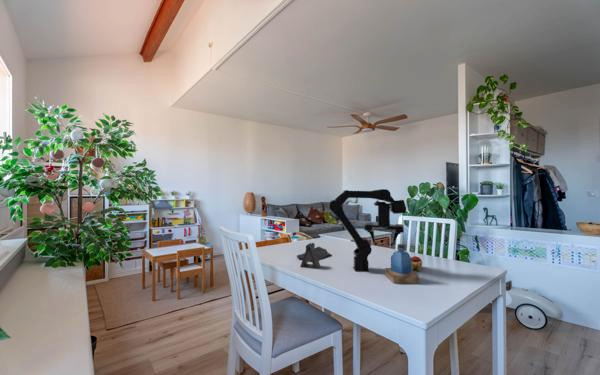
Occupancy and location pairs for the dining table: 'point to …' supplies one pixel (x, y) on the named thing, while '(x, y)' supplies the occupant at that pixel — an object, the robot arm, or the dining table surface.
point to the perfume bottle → (401, 260)
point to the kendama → (416, 263)
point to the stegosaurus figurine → (320, 254)
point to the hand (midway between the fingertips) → (383, 243)
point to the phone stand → (311, 251)
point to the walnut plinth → (401, 276)
